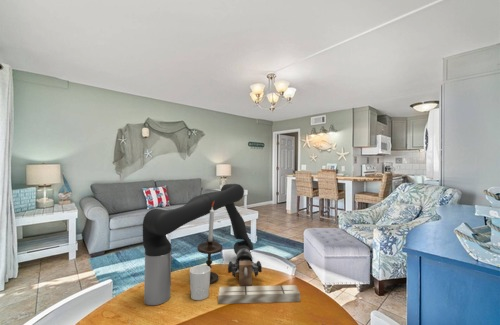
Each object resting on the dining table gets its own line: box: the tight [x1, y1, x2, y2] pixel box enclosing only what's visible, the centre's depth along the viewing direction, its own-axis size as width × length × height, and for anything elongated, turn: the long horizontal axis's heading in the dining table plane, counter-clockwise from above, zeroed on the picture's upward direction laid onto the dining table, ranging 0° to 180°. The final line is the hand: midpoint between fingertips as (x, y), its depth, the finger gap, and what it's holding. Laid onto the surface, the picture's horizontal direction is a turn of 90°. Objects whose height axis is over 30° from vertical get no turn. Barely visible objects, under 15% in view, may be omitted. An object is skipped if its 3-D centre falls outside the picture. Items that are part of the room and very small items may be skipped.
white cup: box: [189, 264, 211, 301], centre depth 86 cm, size 8×8×10 cm
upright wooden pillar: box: [238, 261, 253, 286], centre depth 88 cm, size 5×9×11 cm, turn 3°
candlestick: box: [196, 202, 223, 285], centre depth 99 cm, size 11×11×35 cm
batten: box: [217, 284, 301, 305], centre depth 85 cm, size 30×6×3 cm, turn 93°
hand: (245, 274), depth 90 cm, fingers open, 8 cm apart
